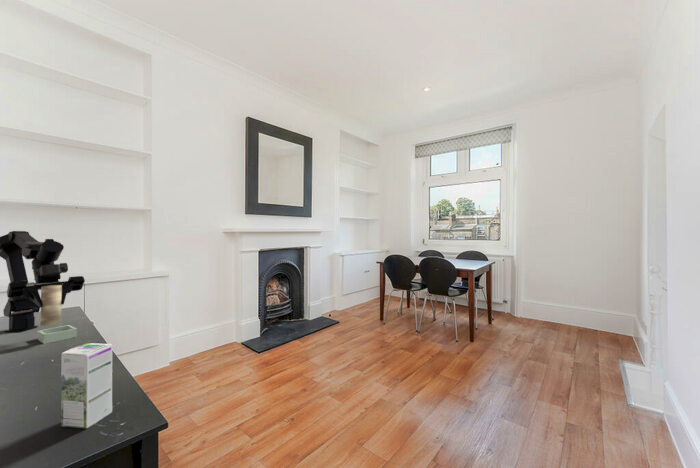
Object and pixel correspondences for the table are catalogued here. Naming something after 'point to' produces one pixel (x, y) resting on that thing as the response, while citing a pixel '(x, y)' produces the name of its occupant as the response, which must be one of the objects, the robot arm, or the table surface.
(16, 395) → the table surface
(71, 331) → the sage collar
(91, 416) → the syrup box
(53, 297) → the maple dowel
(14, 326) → the robot arm
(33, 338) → the table surface
